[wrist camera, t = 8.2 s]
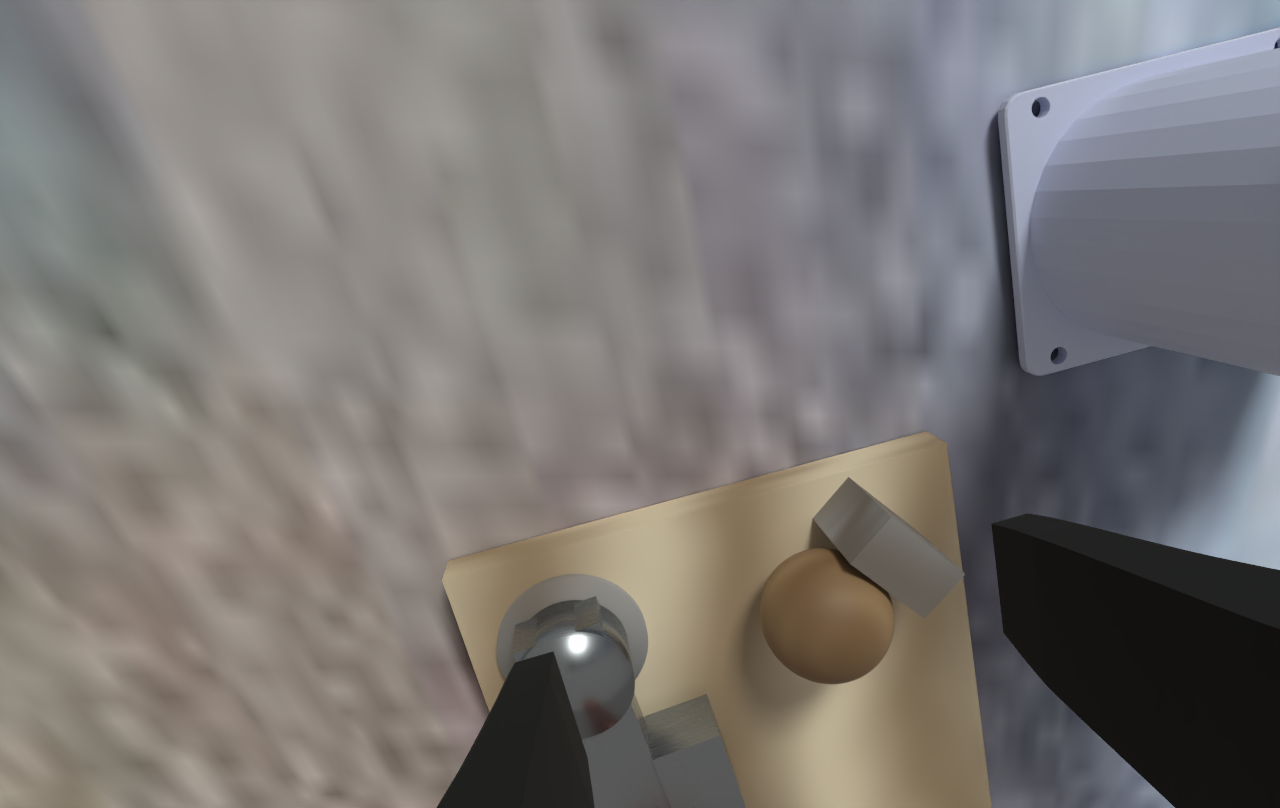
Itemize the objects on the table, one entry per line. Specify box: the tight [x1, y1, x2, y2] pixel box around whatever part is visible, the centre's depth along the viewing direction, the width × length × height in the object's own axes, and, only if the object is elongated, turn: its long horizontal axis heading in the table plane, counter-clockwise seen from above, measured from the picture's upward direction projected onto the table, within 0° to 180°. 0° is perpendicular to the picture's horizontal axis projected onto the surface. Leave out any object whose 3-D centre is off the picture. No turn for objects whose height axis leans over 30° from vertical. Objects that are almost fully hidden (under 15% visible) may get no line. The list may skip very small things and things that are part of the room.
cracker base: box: [442, 431, 992, 808], centre depth 22 cm, size 15×15×5 cm
